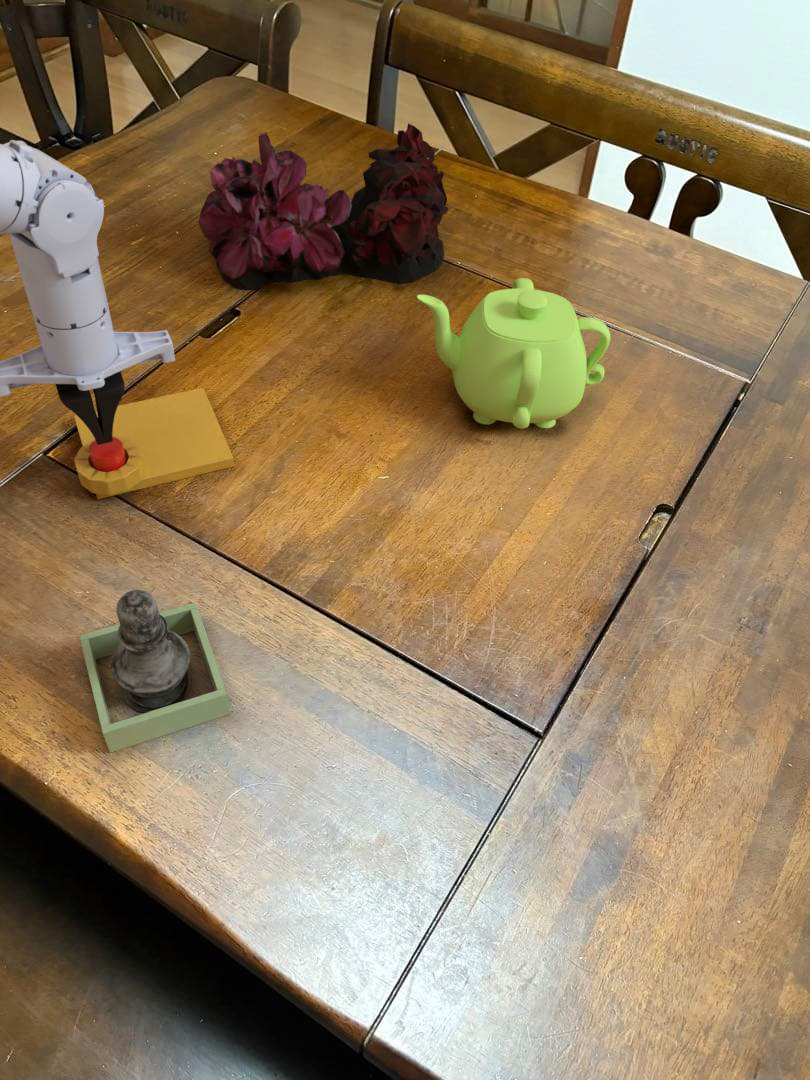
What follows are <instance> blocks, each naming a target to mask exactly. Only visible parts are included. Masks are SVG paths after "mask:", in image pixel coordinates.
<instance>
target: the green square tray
mask: <svg viewBox="0 0 810 1080" xmlns="http://www.w3.org/2000/svg"><path fill="white" fill-rule="evenodd" d="M159 614H160V615H161V616H163V617H164V619H165V620H166V622H167V625H168V630H169V631H172V632H175V633H176V634H178V635H179V636H181V635H185V634H189V633H192V632H194V634H195V638H196V640H197V643H198V647H199V649H200V652H201V655H202V658H203V661H204V664H205V667H206V671H207V673H208V676H209V679H210V682H211V685H212V688H213V691H211V692H208V693H204V694H202V695H198V696H195V697H192V698H188V699H185V700H184V701H182V702H179V703H175V704H172V705H169V706H166V707H163V708H160V709H156V710H153V711H150V712H147V713H141V714H137V715H134V716H131V717H129V718H125V719H121V720H118V721H116V722H112V721H111V716H110V712H109V708H108V704H107V699H106V696H105V692H104V689H103V683H102V679H101V677H100V676H101V675H100V672H99V671H100V670H99V668H98V663H97V660H100V659H103V658H106V657H109V656H113V653H114V651H115V649H116V648H117V647H118V645H119V644H120V641H119V638H118V629H119V626H120V623H118V624H114V625H110V626H107V627H103V628H100V629H96V630H93V631H89V632H86V633H83V634H79V636H78V637H79V641H80V645H81V649H82V653H83V657H84V658H83V659H84V662H85V667H86V670H87V675H88V679H89V683H90V686H91V691H92V694H93V695H92V696H93V699H94V700H93V701H94V703H95V707H96V712H97V716H98V722H99V724H100V730H101V733H102V736H103V738H104V741H105V744H106V746H107V750H108V752H109V753H110V754H112V753H114V752H117V751H120V750H121V751H122V750H124V749H127V748H130V747H132V746H136V745H140V744H142V743H145V742H148V741H151V740H154V739H158V738H160V737H163V736H167V735H170V734H173V733H177V732H180V731H182V730H185V729H188V728H192V727H195V726H198V725H200V724H203V723H207V722H210V721H213V720H217V719H219V718H223V717H225V716H228V715H230V714H231V709H230V704H229V698H228V692H227V689H226V686H225V684H224V681H223V678H222V676H221V675H222V674H221V673H220V669H219V666H218V663H217V660H216V658H215V657H216V656H215V655H214V652H213V649H212V646H211V642H210V640H209V637H208V634H207V632H206V628H205V625H204V622H203V619H202V617H201V613H200V610H199V608H198V606H197V602H192V603H188V604H184V605H180V606H177V607H174V608H170V609H166V610H163V611H159Z"/></svg>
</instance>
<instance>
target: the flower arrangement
mask: <svg viewBox="0 0 810 1080" xmlns="http://www.w3.org/2000/svg"><path fill="white" fill-rule="evenodd" d="M396 143H397V145H398V146H397V147H395V148H393V149H392V148H376V149H373V150H372V151H370V152H368V158H369V159H371V160H375V161H372V163H370V164H369V167H368V168H367V169H365V170H364V171H363V172H362V176H363V182H364V187H362V188H360V189H358V190H357V191H356V192H354V194H353V197H352V199H351V198H350V196H349V195H348V194H347V192H346V191H345V190H344V189H339V190H338V191H335V192H334V193H333V194H331V195H330V196H329V192H330V189H329V188H326V189H324V187H323V186H322V185H319V184H318V183H315V184H311V183H303V184H302V183H301V182H302V181H303V180H304V179H305V177H306V176H307V161H306V160H305V159H304V158H303V157H302V156H301V155H299V154H297V153H296V152H294V151H293V150H282V151H279V152H276V148H275V147H274V146H273V145H272V144H271V140H270V137H269V135H268V132H265V133H260V135H258V152H259V157H260V163H259V162H258V161H256V160H255V159H254V158H253V159H252V162H250V161H247V160H245V159H236V158H235V156H233V155H232V156H231V158H224V159H223V160H222V161H221V162H219V163H218V162H217V163H216V164H215V165H214V166H213V167H211V168H210V170H209V176H210V177H209V178H210V183H211V187H212V188H213V189H214V190H213V191H211V192H210V193H209V194H208V195H207V196H206V198H205V201H204V203H203V205H202V207H201V210H200V214H199V218H198V223H199V228H200V230H201V232H202V234H203V237H204V238H206V239H207V241H209V246H208V252H209V254H211V256H212V257H213V258H214V259H215V263H216V267H217V269H218V272H219V274H220V276H221V279H222V280H223V281H225V283H227V284H229V285H231V287H233V288H234V289H237V290H244V291H251V290H257V289H258V290H259V289H262V288H264V287H266V286H267V285H269V284H271V283H273V282H281V283H282V282H283V283H284V282H285V283H294V282H299V281H305V280H310V279H312V280H313V279H314V280H315V279H316V280H322V279H325V278H328V277H331V276H338V275H344V274H345V275H347V274H348V275H350V276H351V275H352V276H356V277H362V278H368V279H374V280H379V281H380V280H381V281H384V282H387V283H388V282H389V283H393V284H398V285H402V284H408V283H414V282H416V281H419V280H420V279H422V278H425V277H426V276H428V275H430V274H432V273H434V272H436V271H437V270H438V269H439V268H440V267H441V265H443V261H444V257H445V249H444V241H443V240H442V239H440V237H439V229H438V225H440V224H441V221H442V219H443V215H445V214H448V213H447V212H448V210H450V207H448V206H446V205H447V202H448V197H447V194H446V191H445V188H444V183H443V178H444V175H445V173H444V171H443V170H442V171H440V172H439V171H438V170H439V168H438V167H437V165H436V164H435V163H433V162H434V161H435V160H436V159H435V156H436V153H435V150H434V148H433V147H432V146H431V145H430V144H429V143H428V142H427V141H426V140H424V138H423V132H422V131H421V130H420V129H418V127H416V126H414V125H413V124H411V123H407V127H406V130H405V131H404V129H401V130H398V131H397V137H396ZM328 196H329V197H328Z"/></svg>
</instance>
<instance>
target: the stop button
mask: <svg viewBox="0 0 810 1080" xmlns="http://www.w3.org/2000/svg"><path fill="white" fill-rule="evenodd" d="M89 453H90V457H91V461H92V464H93V467H94V468H95V469H96V470H98V471H102V472H111V471H115V470H118V469H120V468H121V467H122V466H124V464H125V462H126V456H125V452H124V448H123V444H122V442H121V441H120V440H119V439H118V438H115V437H113V441H112V442H109V443H105V444H100V445H98V444H97V442H96V440H94V441H93V442H92V443H91V444H90V446H89Z"/></svg>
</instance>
